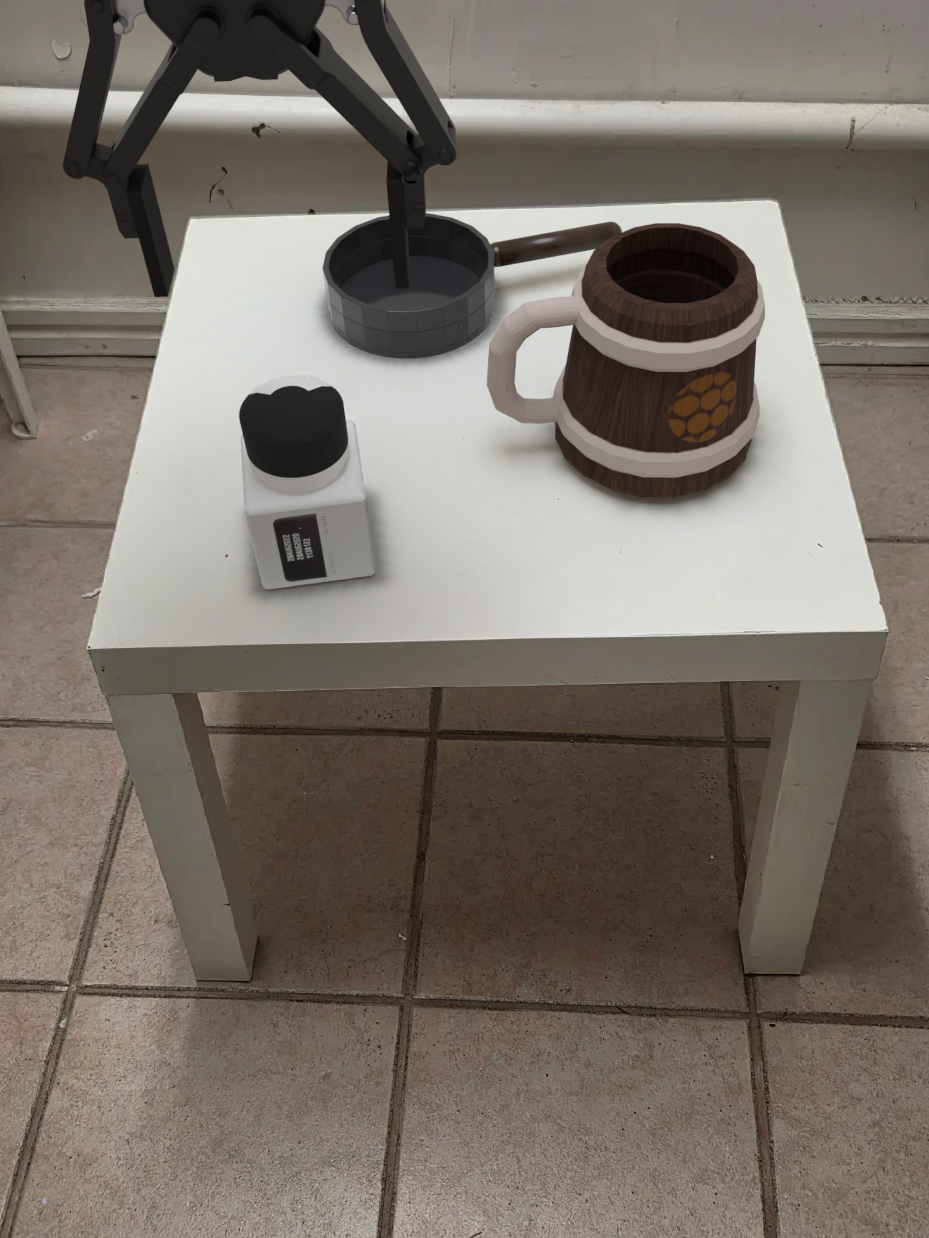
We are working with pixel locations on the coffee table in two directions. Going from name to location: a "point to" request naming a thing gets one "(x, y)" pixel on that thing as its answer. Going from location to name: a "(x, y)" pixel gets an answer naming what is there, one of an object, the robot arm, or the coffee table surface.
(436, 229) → the pan
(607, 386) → the mug
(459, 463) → the coffee table surface
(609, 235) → the pan handle
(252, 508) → the container
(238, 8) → the robot arm
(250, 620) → the coffee table surface
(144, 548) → the coffee table surface
